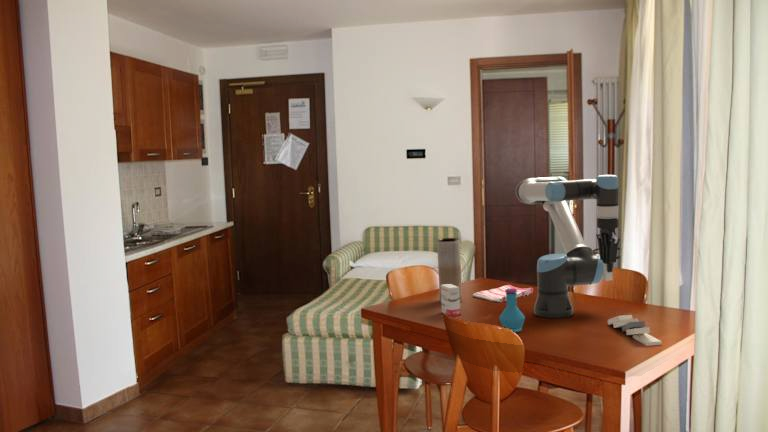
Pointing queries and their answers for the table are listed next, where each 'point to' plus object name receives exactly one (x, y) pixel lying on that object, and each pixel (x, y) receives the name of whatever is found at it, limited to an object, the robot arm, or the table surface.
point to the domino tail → (647, 339)
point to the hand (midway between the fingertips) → (608, 280)
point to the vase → (449, 263)
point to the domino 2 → (633, 325)
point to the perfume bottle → (512, 312)
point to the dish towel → (501, 293)
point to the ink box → (450, 299)
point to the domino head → (619, 319)
